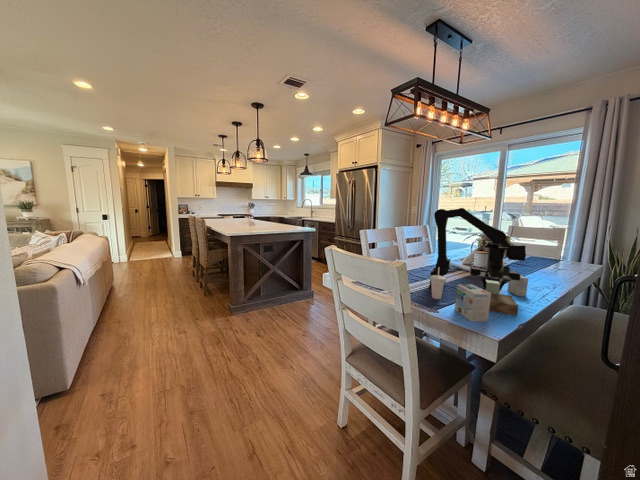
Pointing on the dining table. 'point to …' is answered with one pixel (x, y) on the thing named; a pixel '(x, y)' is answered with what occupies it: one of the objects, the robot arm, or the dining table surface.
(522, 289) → the medicine box
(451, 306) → the dining table surface
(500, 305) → the walnut riser block
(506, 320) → the dining table surface
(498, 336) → the dining table surface
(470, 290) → the light bulb box
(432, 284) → the smoothie
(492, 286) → the sage block
